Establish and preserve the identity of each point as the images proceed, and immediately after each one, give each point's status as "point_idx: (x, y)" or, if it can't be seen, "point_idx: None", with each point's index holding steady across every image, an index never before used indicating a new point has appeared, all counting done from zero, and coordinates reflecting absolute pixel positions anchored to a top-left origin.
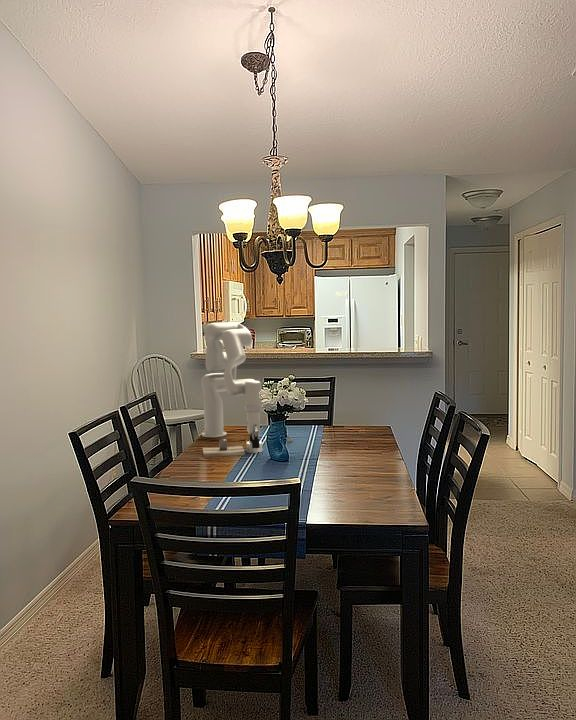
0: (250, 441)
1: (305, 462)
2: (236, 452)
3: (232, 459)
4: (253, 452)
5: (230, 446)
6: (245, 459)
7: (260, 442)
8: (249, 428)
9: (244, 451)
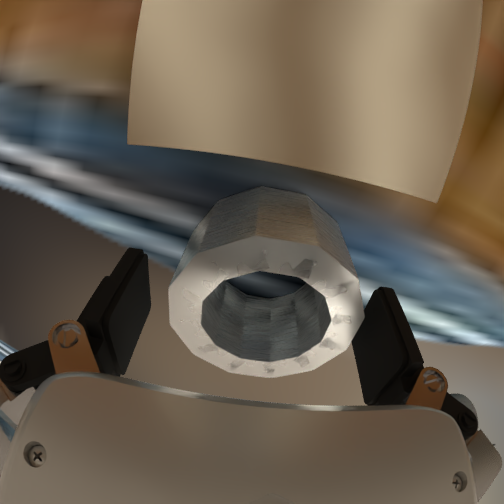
0: (350, 305)
1: (6, 351)
2: (137, 47)
3: (31, 23)
4: (192, 234)
5: (471, 79)
6: (9, 126)
7: (239, 364)
8: (10, 466)
9: (131, 142)
